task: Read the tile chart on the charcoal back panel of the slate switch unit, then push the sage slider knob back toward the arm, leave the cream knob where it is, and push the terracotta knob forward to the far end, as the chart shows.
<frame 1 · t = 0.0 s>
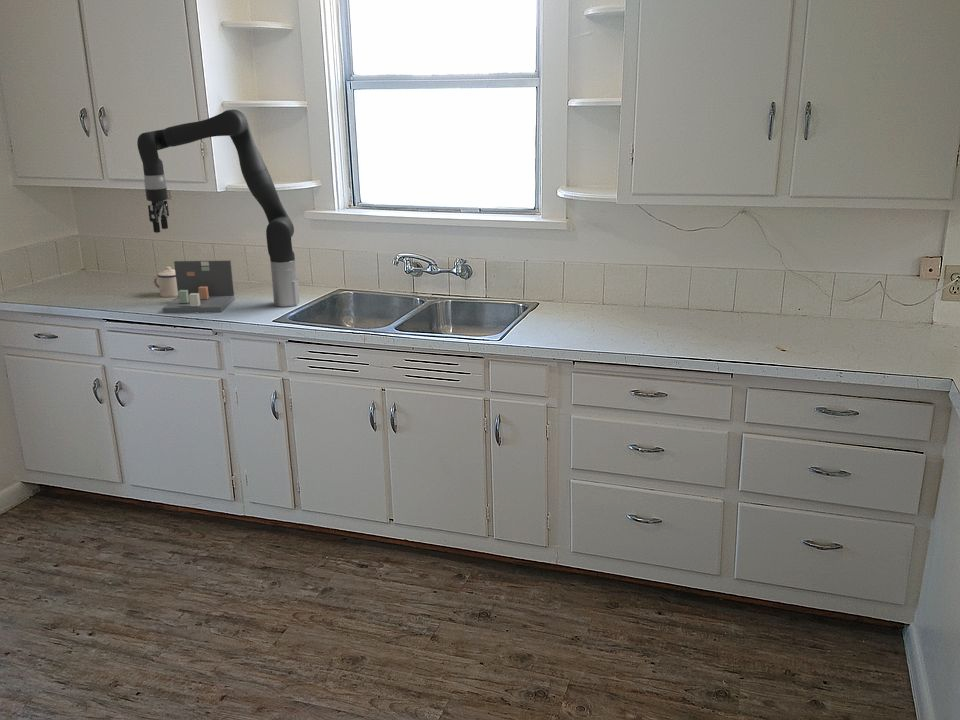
hand: (161, 230, 329), 29 cm above the worktop, fingers open, 8 cm apart
terracotta slider: (203, 292, 338), point 5 cm above the worktop, slide at 0.0 cm
sage slider: (183, 296, 333), point 5 cm above the worktop, slide at 6.0 cm
teacup with lid: (168, 295, 356), on the worktop
switch unit: (199, 306, 337), on the worktop
cream slider: (194, 299, 328), point 5 cm above the worktop, slide at 0.0 cm
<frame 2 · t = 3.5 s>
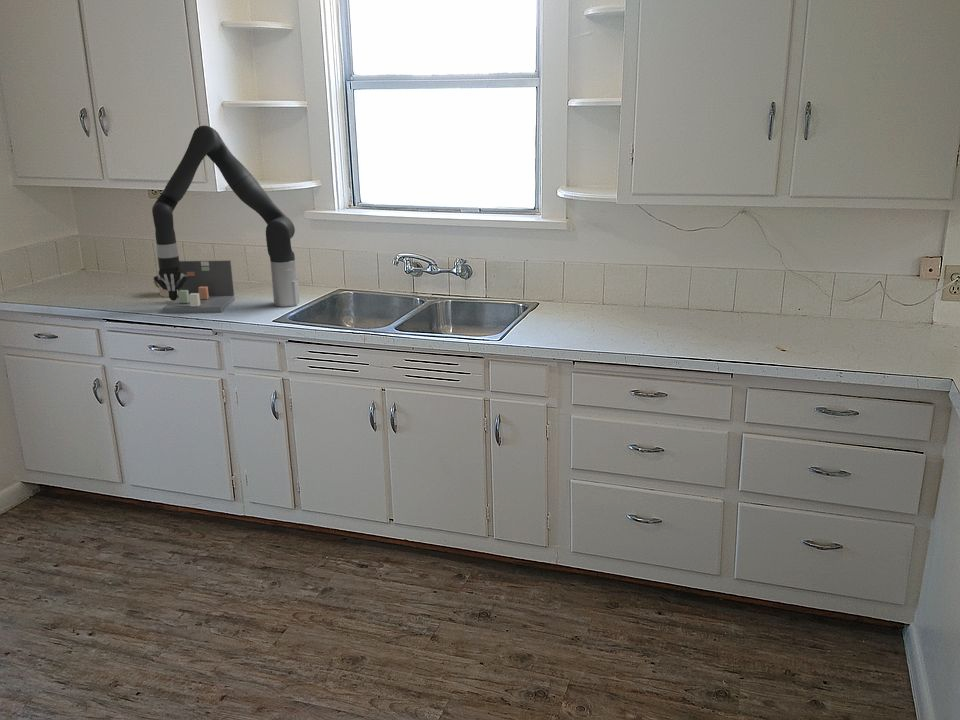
hand: (173, 299, 333), 3 cm above the worktop, fingers closed
sage slider: (183, 296, 333), point 5 cm above the worktop, slide at 5.8 cm, touching gripper
everything else where it was.
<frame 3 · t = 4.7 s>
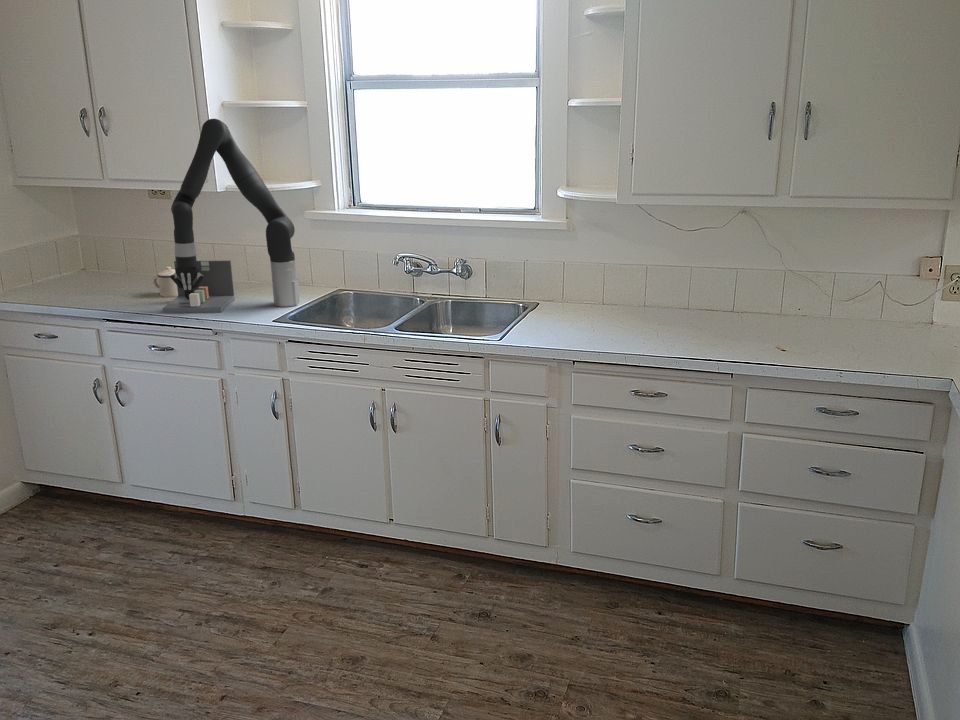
hand: (189, 299, 333), 4 cm above the worktop, fingers closed
sage slider: (199, 296, 333), point 5 cm above the worktop, slide at -0.2 cm, touching gripper
everything else where it was.
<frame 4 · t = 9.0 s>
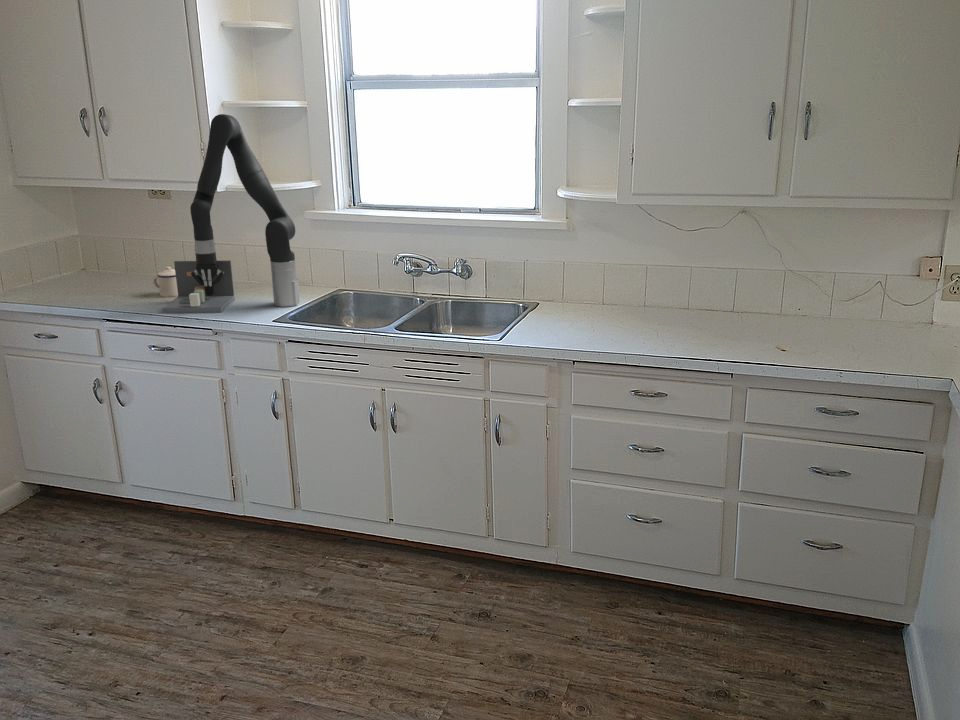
hand: (210, 295, 338), 4 cm above the worktop, fingers closed
terracotta slider: (199, 292, 338), point 5 cm above the worktop, slide at 1.4 cm, touching gripper
sage slider: (199, 296, 333), point 5 cm above the worktop, slide at -0.1 cm
everything else where it was.
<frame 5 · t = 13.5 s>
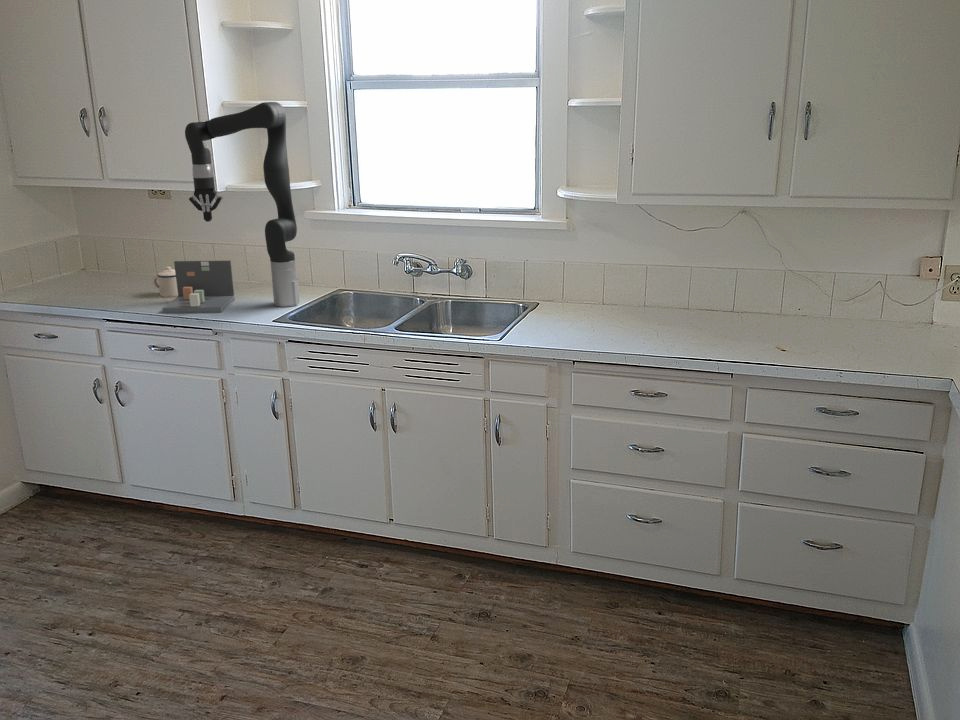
hand: (208, 221, 338), 31 cm above the worktop, fingers closed
terracotta slider: (188, 293, 338), point 5 cm above the worktop, slide at 6.1 cm
everything else where it was.
at the end: sage slider slide at -0.1 cm; terracotta slider slide at 6.1 cm; cream slider slide at 0.0 cm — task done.
